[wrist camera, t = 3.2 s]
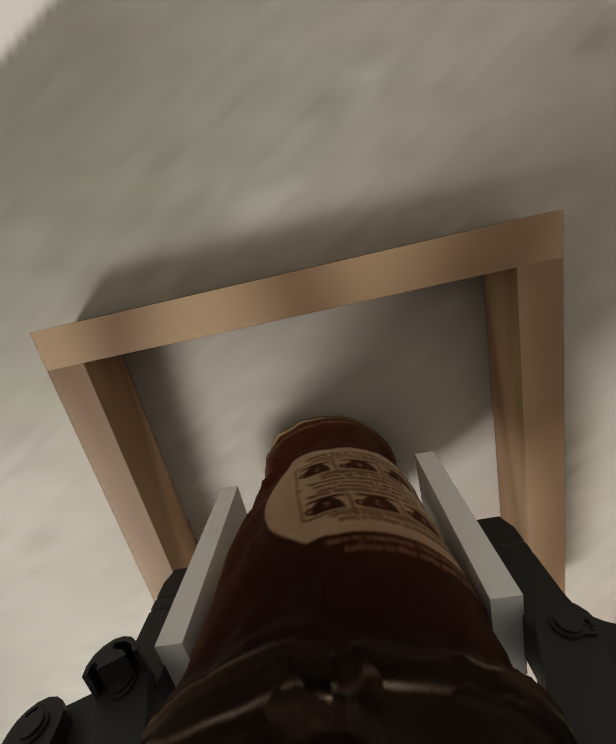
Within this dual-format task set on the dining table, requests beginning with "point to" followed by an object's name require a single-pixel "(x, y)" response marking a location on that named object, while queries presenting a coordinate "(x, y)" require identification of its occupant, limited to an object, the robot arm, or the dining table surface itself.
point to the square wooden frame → (315, 293)
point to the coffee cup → (348, 619)
